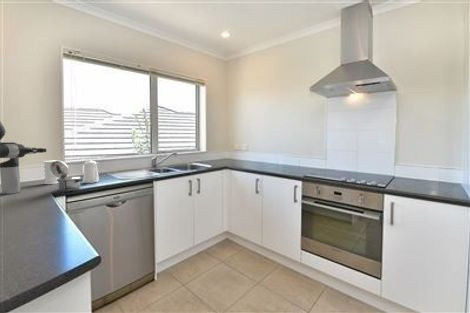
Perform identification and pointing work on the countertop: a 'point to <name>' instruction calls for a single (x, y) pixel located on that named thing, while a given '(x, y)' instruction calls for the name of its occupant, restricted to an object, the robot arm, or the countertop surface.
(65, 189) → the pot
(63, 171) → the lid
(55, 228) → the countertop surface
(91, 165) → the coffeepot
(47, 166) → the decorative container
